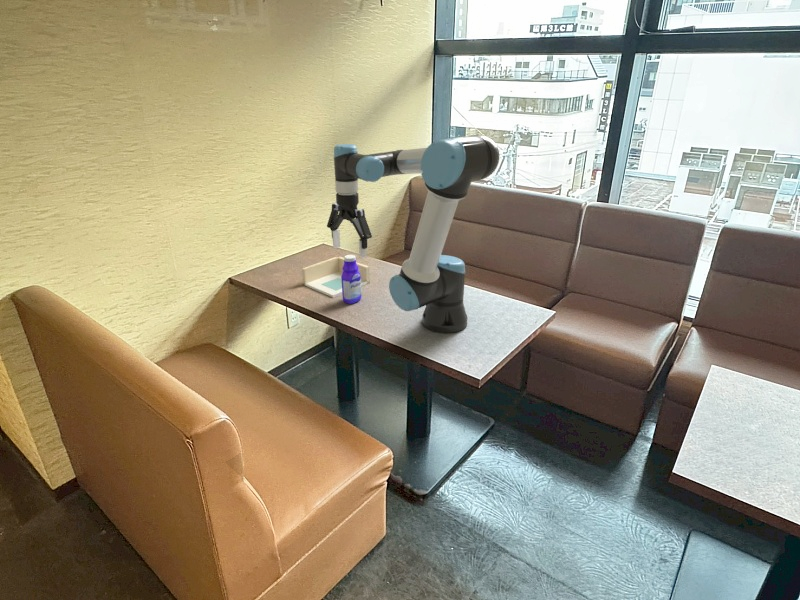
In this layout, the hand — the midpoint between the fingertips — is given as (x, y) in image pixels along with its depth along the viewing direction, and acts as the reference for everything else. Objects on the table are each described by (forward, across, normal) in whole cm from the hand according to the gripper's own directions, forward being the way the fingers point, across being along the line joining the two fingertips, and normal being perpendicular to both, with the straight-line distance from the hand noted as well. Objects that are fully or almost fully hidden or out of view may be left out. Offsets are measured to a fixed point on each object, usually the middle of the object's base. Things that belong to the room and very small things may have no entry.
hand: (349, 252), depth 178 cm
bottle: (+19, 0, 0) cm, 19 cm away
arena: (+19, +16, -6) cm, 25 cm away
